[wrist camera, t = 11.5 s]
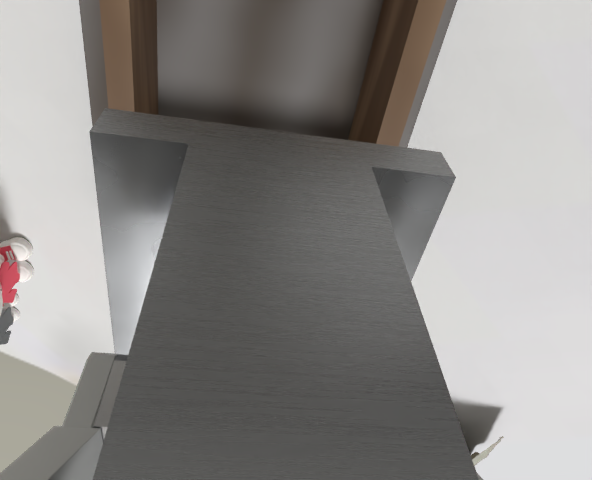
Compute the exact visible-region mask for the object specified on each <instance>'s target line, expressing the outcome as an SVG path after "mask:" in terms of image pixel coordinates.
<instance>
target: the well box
mask: <svg viewBox="0 0 592 480" xmlns="http://www.w3.org/2000/svg"><path fill="white" fill-rule="evenodd" d="M456 2H457V0H79V5H80V14H81V23H82V33H83V42H84V51H85V60H86V69H87V79H88V88H89V97H90V106H91V115H92V124H93V126H94V124H95V123H96V121H97V120H98V118H99V117H100V115H101V114H102V112H103V111H104V109H105V108H110V109H117V110H125V111H132V112H140V113H147V114H155V115H163V116H170V117H178V118H185V119H193V120H200V121H208V122H216V123H223V124H231V125H238V126H246V127H253V128H261V129H268V130H276V131H284V132H291V133H299V134H306V135H314V136H321V137H329V138H337V139H344V140H352V141H359V142H367V143H374V144H382V145H390V146H397V147H405V148H407V146H408V143H409V140H410V137H411V134H412V131H413V128H414V125H415V122H416V119H417V116H418V113H419V111H420V108H421V105H422V102H423V99H424V96H425V93H426V90H427V87H428V84H429V81H430V78H431V75H432V72H433V70H434V67H435V64H436V61H437V58H438V55H439V52H440V49H441V46H442V43H443V40H444V37H445V34H446V31H447V29H448V26H449V23H450V20H451V17H452V14H453V11H454V8H455V5H456Z"/></svg>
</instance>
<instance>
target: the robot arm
mask: <svg viewBox="0 0 592 480" xmlns="http://www.w3.org/2000/svg"><path fill="white" fill-rule="evenodd" d="M127 358H128V355H122V354H111V353H96V352H92V353H91V354H90V356H89V357H88V359H87V361H86V363H85V366H84V369H83V371H82V374H81V377H80V379H79V382H78V385H77V387H76V390H75V393H74V395H73V398H72V401H71V404H70V406H69V409H68V412H67V414H66V417H65V420H64V422H63V425H62V426H54V427H52V428H51V429H50V430H49V431H48V432H47V433H46V434H45V435H43V436H42V437H41V438H40V439H39V440H38V441H36V442H35V443H34V444H33V445H32V446H31V447H30V448H28V449H27V450H26V451H25V452H24V453H23V454H22V455H20V456H19V457H18V458H17V459H16V460H15V461H14V462H12V463H11V464H10V465H9V466H8V467H7V468H6V469H5V470H3V471H2V472H1V473H0V480H93V476H94V473H95V469H96V466H97V462H98V459H99V455H100V452H101V448H102V445H103V441H104V438H105V434H106V431H107V427H108V424H109V420H110V417H111V413H112V410H113V407H114V403H115V400H116V396H117V393H118V389H119V386H120V382H121V379H122V375H123V372H124V368H125V365H126V361H127ZM476 473H477V472H476ZM477 476H478V479H479V480H483V479H482V478H481V477H480V476H479V475H478V473H477Z"/></svg>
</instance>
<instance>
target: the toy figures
mask: <svg viewBox="0 0 592 480" xmlns="http://www.w3.org/2000/svg"><path fill="white" fill-rule="evenodd" d="M32 253H33V248H32V245H31V244H30V243H29V241H27V240H26V239H24V238H21V237H14V238H12V239H10V240H5V241H3V242H1V243H0V289H1V288H2V290H0V345H1V344H7V343H8V340H9V336H10V334H11V331H7V329H8V328H9V326H10V325H12V324H13V322H14V321H16V320H17V319H18V318H19V317H20V313H19V311H18V310H17V309H15V308H13V306H15V305H16V304H17V303H18V302H19V297H18V295H17V294H16V292H17V289H12V288H13V286H14V285H15V284H16V283H17V282H25V281H28V280H29V279H30V278H31V277H32V276H33V274H34V269H33V267H32V266H31V265H30V264H29V263H28V262H26V261H25V260H27V259H28V258H29V257H30V256H31V255H32ZM11 289H12V290H11ZM6 331H7V332H6Z"/></svg>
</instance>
